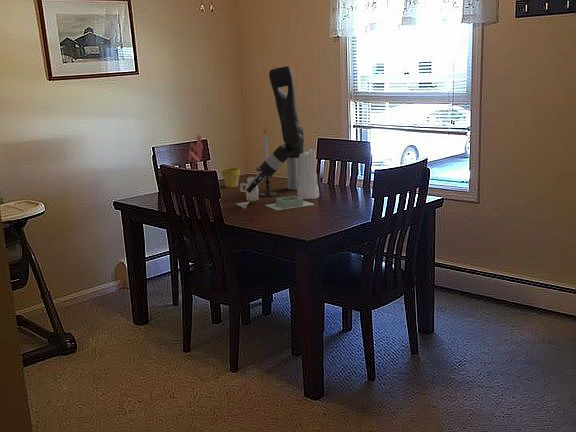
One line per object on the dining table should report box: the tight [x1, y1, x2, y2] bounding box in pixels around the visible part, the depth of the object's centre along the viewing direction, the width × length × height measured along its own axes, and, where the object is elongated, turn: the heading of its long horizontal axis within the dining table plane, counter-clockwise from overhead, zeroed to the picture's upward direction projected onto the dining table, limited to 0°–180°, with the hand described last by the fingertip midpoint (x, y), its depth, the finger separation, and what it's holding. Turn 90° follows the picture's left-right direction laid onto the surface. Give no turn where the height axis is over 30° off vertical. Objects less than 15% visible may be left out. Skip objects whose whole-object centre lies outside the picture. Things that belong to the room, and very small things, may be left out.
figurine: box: [187, 133, 204, 171], centre depth 331 cm, size 15×26×35 cm, turn 13°
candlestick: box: [256, 128, 278, 198], centre depth 349 cm, size 11×11×35 cm
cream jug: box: [239, 177, 260, 202], centre depth 330 cm, size 9×6×10 cm
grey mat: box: [236, 201, 250, 209], centre depth 331 cm, size 13×11×1 cm
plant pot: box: [220, 167, 241, 188], centre depth 381 cm, size 10×10×10 cm
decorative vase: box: [296, 148, 320, 200], centre depth 338 cm, size 11×11×25 cm
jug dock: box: [264, 195, 316, 211], centre depth 324 cm, size 20×14×4 cm
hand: (248, 190), depth 330 cm, fingers closed on cream jug, 6 cm apart
